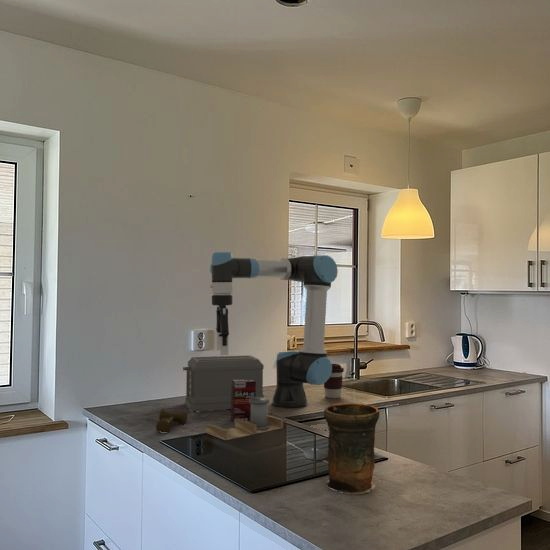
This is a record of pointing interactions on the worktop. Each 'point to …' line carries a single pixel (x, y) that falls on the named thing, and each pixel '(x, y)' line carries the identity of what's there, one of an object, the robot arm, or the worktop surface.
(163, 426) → the kendama
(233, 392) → the supplement box
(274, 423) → the oak rack
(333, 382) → the coffee cup
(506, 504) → the worktop surface
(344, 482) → the vessel
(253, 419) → the light grey cylinder
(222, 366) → the toaster
